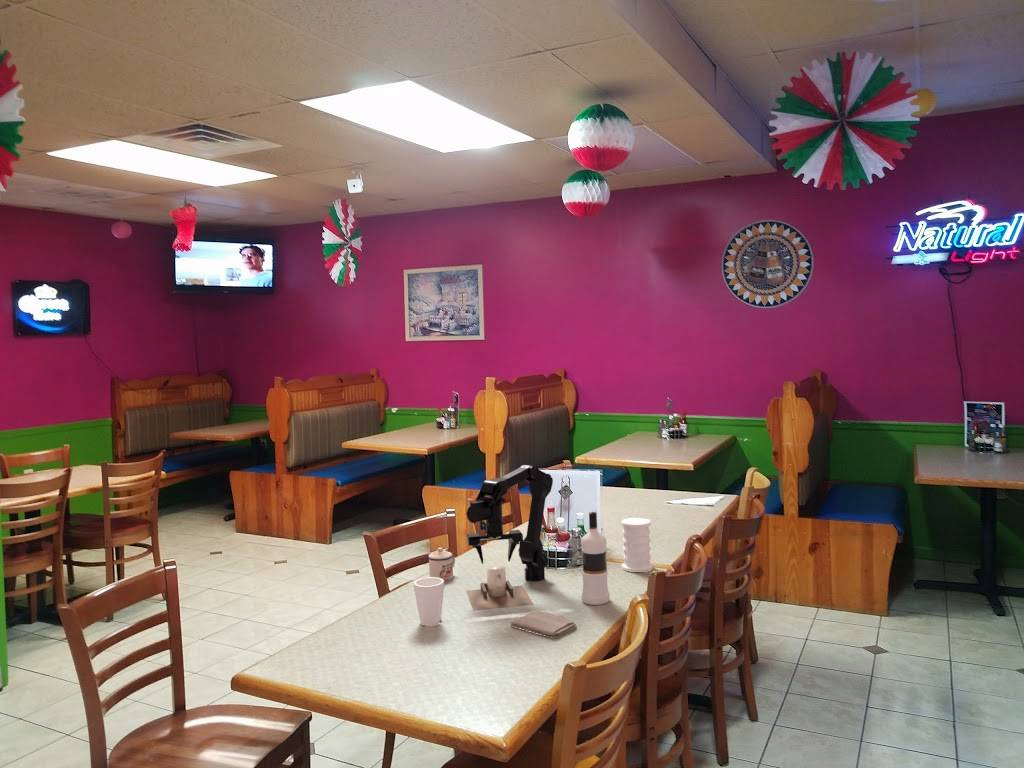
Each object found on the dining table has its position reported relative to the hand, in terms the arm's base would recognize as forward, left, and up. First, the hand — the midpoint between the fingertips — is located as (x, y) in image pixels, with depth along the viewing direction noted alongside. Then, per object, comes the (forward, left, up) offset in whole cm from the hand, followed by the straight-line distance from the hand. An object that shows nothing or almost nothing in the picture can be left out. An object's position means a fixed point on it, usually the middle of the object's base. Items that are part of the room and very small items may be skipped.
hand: (495, 562), depth 260 cm
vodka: (-31, +14, -12) cm, 36 cm away
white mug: (0, +1, -11) cm, 11 cm away
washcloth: (-10, +31, -13) cm, 35 cm away
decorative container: (-56, -16, -12) cm, 60 cm away
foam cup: (+24, +18, -12) cm, 32 cm away
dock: (0, +4, -12) cm, 13 cm away
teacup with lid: (+16, -26, -12) cm, 33 cm away
